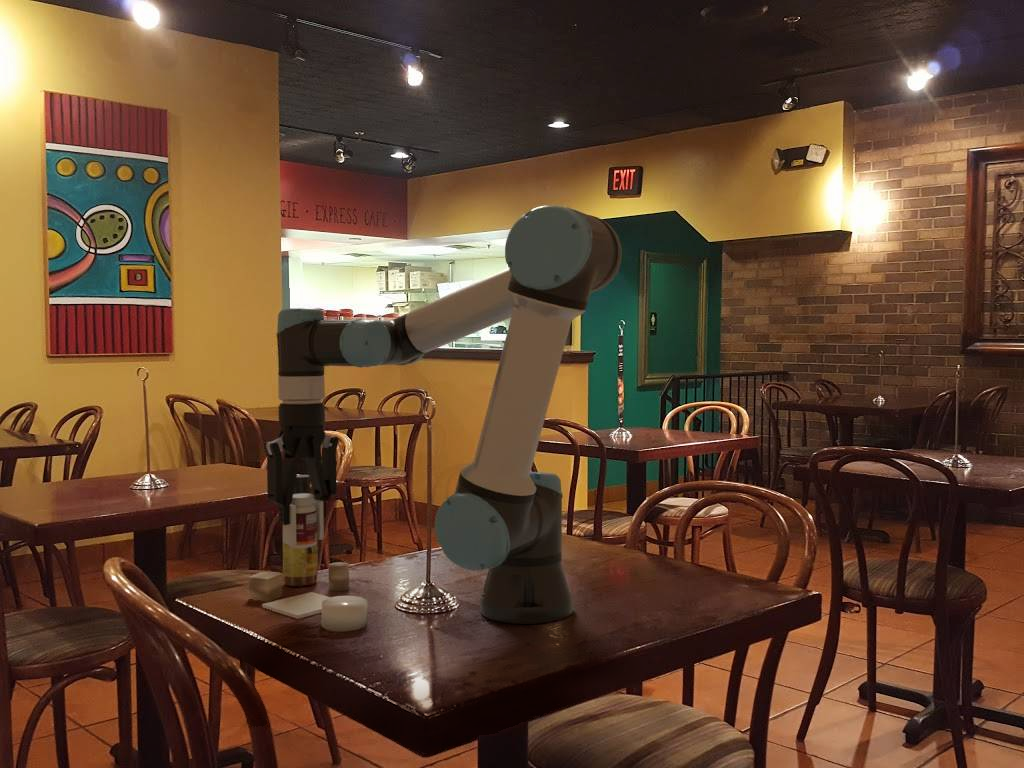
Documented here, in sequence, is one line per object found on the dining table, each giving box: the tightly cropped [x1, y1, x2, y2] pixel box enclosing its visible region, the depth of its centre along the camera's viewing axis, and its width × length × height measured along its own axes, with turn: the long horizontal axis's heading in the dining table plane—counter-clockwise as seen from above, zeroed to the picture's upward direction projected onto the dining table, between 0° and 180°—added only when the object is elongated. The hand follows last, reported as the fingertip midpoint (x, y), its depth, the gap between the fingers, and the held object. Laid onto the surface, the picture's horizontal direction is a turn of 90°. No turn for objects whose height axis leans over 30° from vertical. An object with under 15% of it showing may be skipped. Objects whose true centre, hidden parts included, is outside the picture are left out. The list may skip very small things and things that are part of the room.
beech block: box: [248, 571, 283, 603], centre depth 164 cm, size 4×4×4 cm
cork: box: [327, 561, 350, 593], centre depth 169 cm, size 4×4×4 cm
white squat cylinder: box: [321, 595, 368, 633], centre depth 148 cm, size 7×7×4 cm
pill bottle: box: [288, 493, 318, 548], centre depth 157 cm, size 5×5×8 cm
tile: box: [261, 591, 330, 620], centre depth 158 cm, size 10×10×1 cm
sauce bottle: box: [282, 474, 319, 587], centre depth 173 cm, size 6×6×20 cm
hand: (303, 540), depth 157 cm, fingers closed on pill bottle, 5 cm apart
